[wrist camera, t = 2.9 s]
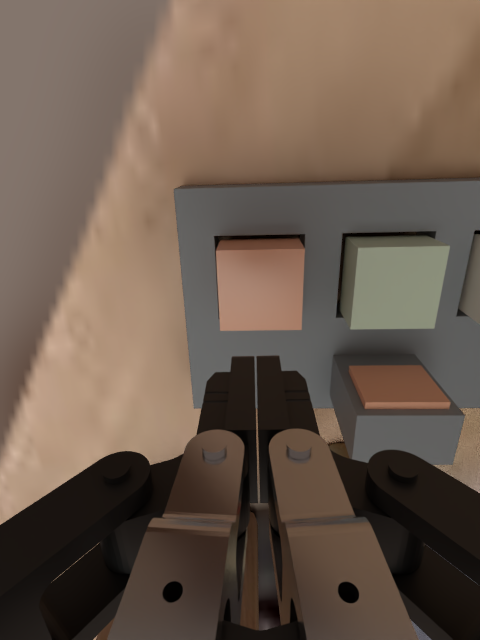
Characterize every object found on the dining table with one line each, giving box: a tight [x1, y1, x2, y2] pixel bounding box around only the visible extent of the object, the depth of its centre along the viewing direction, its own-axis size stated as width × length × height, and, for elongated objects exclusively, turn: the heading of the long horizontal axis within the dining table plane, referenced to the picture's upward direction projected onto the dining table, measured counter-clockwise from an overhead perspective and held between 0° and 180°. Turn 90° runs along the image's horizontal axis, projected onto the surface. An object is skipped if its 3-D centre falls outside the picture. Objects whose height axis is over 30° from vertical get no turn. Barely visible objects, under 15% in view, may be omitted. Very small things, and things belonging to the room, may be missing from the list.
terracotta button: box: [216, 238, 305, 331], centre depth 21 cm, size 4×4×3 cm
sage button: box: [340, 235, 450, 329], centre depth 20 cm, size 4×4×3 cm
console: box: [174, 178, 480, 465], centre depth 20 cm, size 23×14×8 cm, turn 92°
